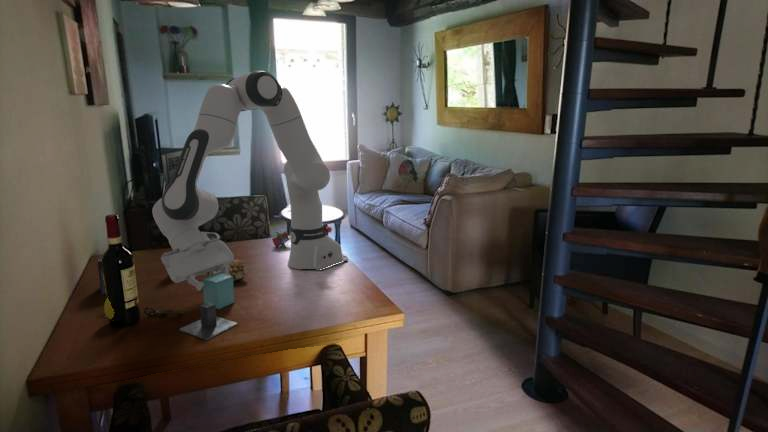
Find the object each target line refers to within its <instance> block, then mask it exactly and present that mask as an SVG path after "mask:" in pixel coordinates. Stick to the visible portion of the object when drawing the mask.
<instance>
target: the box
mask: <svg viewBox="0 0 768 432" xmlns="http://www.w3.org/2000/svg"><path fill="white" fill-rule="evenodd" d="M104 254H105V253H100V254H99V257H98V260H97V267H98V268H97V269H98V270H97V271H98V278H99V288H100V289H99V290H100V294H101V295H106V294H105V285H104V280H103V274H102V258H103V255H104Z"/></svg>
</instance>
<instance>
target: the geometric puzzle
mask: <svg viewBox="0 0 768 432" xmlns="http://www.w3.org/2000/svg"><path fill="white" fill-rule="evenodd" d="M280 232H281V233H280ZM275 235H276V236H274V237H272V243H273V245H274V247H275V249H278V248H280V247H284V248H287V245H286V243H288V242H289V241H291V240H290V234H288V233H287V231H283V232H282V231H279V232H278V231H275Z"/></svg>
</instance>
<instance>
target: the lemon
mask: <svg viewBox="0 0 768 432" xmlns="http://www.w3.org/2000/svg"><path fill="white" fill-rule="evenodd" d="M103 307H104V314H105V316H106V317H107V319H109V320H111V319H112V318H113V317H114V313H115V312H114V309H113V308H112V306H111V302H110V301H109V299H108V297H107V298H106V299H105V302H104V306H103Z"/></svg>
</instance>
